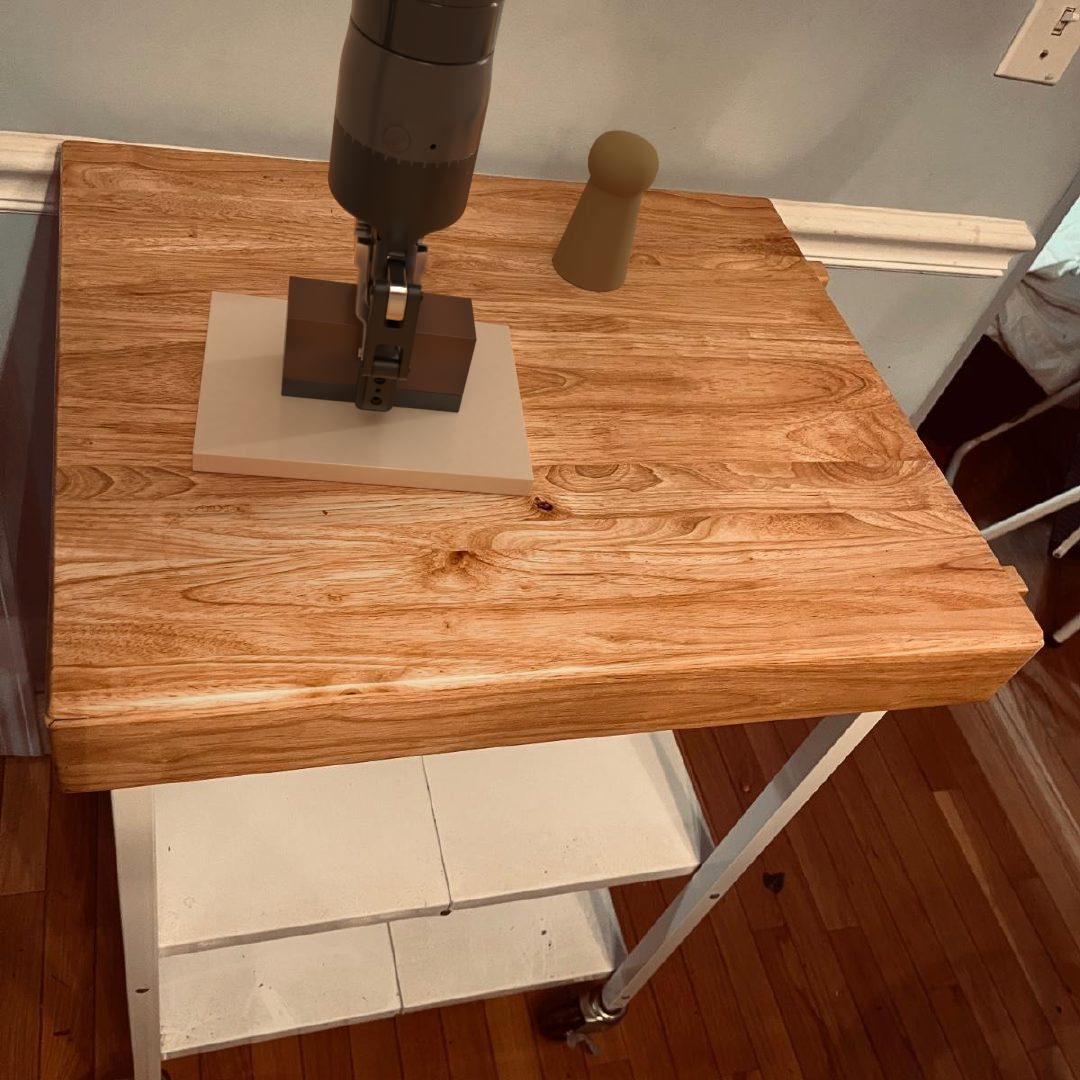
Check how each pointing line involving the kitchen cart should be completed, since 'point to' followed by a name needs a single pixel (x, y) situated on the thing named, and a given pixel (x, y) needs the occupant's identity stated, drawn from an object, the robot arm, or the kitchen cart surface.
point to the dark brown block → (334, 338)
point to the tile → (352, 416)
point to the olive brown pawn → (607, 212)
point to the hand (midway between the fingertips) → (371, 360)
